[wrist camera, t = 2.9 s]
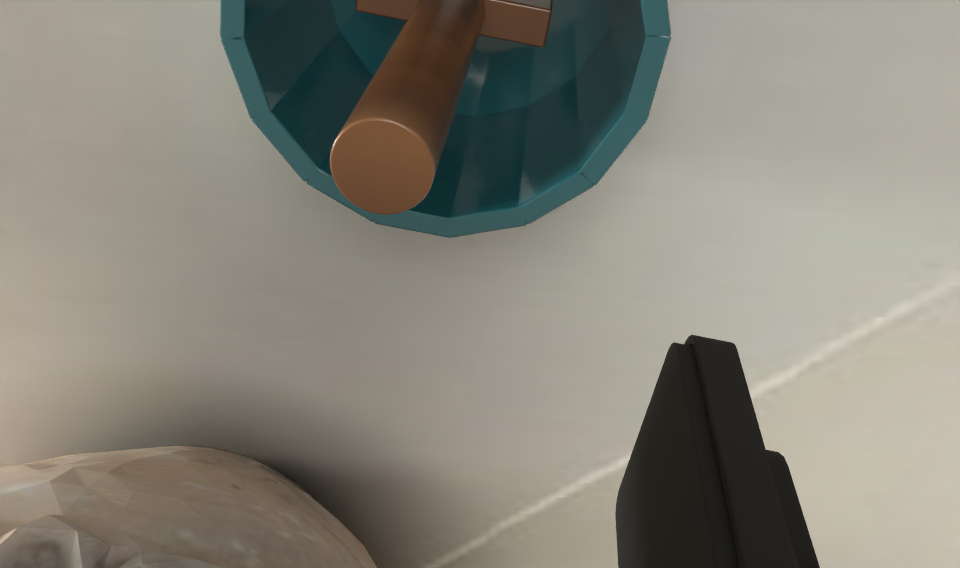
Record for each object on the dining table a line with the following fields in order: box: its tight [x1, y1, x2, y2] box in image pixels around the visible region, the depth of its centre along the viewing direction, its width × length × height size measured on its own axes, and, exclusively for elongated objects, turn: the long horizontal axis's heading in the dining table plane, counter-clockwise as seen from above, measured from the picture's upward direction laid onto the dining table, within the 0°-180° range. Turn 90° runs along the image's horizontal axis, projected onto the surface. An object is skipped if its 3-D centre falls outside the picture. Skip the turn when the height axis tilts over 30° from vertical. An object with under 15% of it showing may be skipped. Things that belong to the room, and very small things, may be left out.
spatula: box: [330, 0, 553, 215], centre depth 24 cm, size 2×6×18 cm, turn 80°
